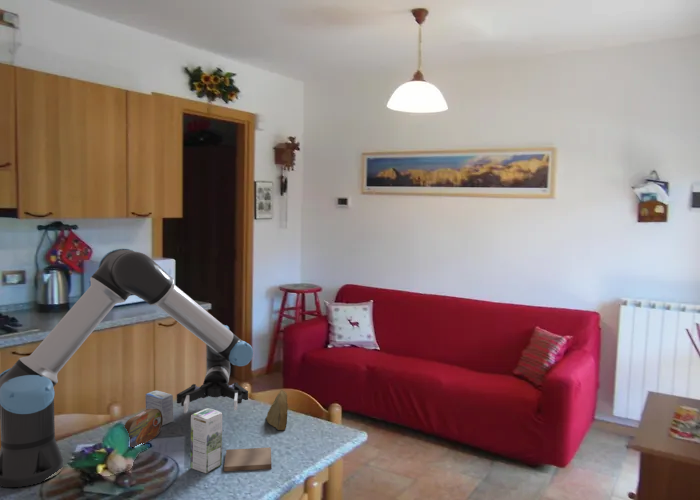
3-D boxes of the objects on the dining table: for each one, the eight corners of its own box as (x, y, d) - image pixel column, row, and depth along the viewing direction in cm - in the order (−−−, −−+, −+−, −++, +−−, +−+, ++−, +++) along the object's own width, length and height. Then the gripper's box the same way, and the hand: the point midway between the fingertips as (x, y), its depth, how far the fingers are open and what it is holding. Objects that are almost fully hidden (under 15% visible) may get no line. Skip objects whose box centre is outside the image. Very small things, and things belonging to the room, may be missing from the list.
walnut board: (224, 471, 142) (224, 466, 142) (226, 453, 152) (226, 449, 152) (271, 468, 144) (271, 464, 144) (270, 451, 154) (270, 447, 154)
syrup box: (206, 460, 148) (206, 407, 147) (222, 465, 145) (222, 411, 144) (190, 468, 143) (189, 413, 142) (206, 474, 140) (206, 418, 139)
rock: (294, 424, 167) (300, 408, 177) (276, 403, 166) (283, 388, 176) (266, 443, 169) (273, 425, 179) (249, 421, 168) (257, 405, 178)
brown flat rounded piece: (129, 453, 151) (129, 423, 150) (120, 452, 152) (119, 422, 151) (163, 432, 165) (163, 404, 165) (154, 430, 166) (154, 403, 166)
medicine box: (173, 421, 174) (173, 394, 173) (162, 426, 170) (161, 398, 169) (157, 416, 178) (156, 389, 177) (145, 420, 174) (145, 393, 173)
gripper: (256, 391, 177) (256, 417, 156) (175, 395, 173) (164, 422, 152) (256, 368, 176) (256, 391, 156) (174, 372, 172) (163, 395, 152)
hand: (210, 406), depth 154 cm, fingers open, 13 cm apart
